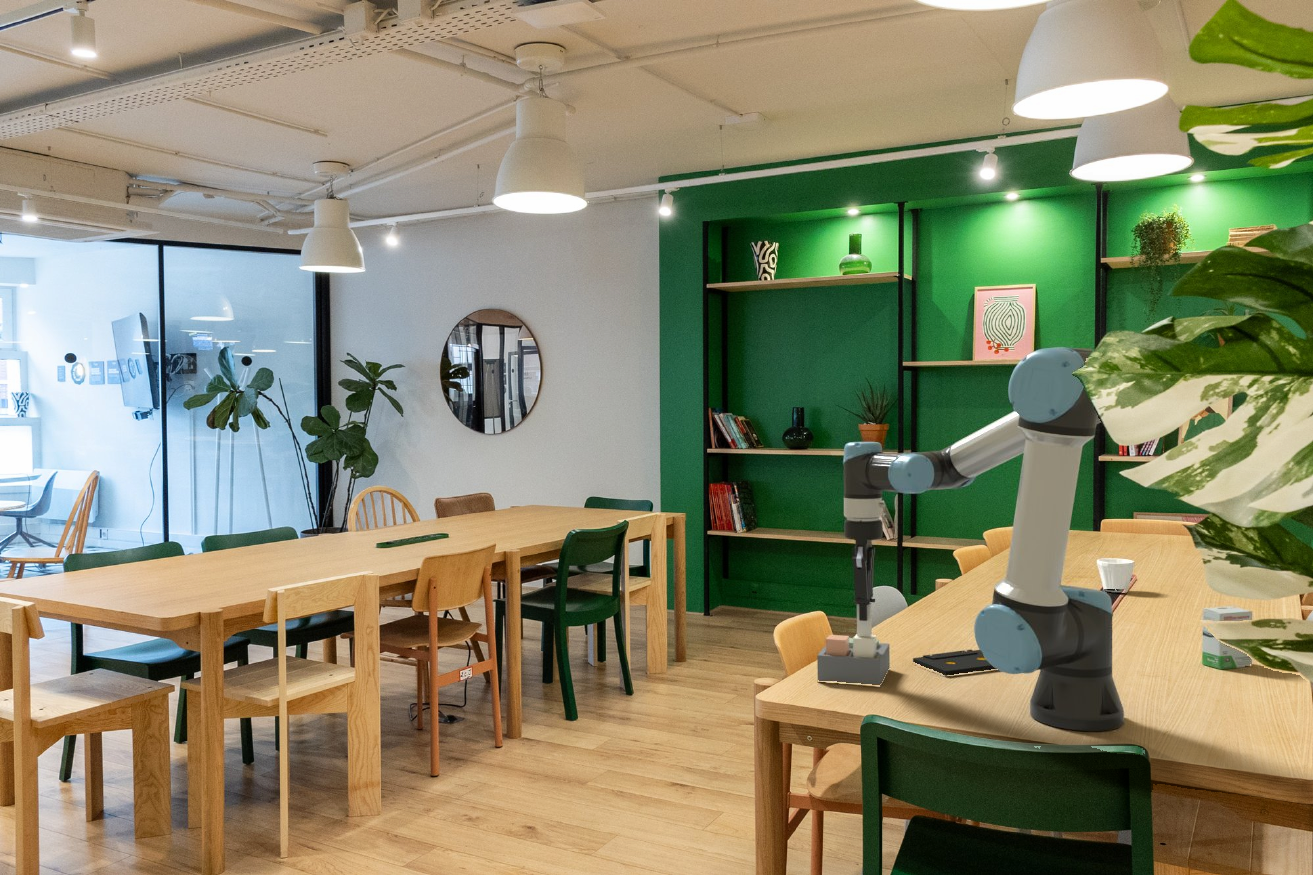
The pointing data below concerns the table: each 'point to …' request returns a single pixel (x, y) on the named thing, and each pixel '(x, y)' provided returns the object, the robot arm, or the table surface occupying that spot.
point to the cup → (1115, 572)
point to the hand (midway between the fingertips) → (864, 635)
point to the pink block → (837, 645)
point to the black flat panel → (955, 662)
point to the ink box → (1217, 651)
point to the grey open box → (854, 666)
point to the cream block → (864, 646)
